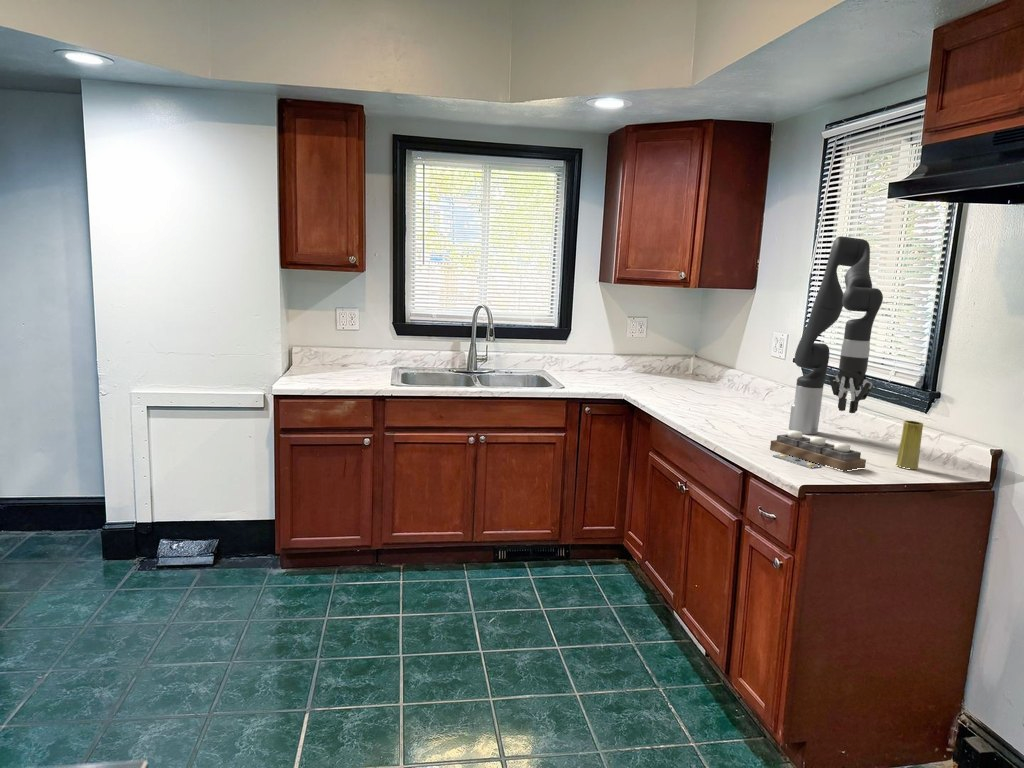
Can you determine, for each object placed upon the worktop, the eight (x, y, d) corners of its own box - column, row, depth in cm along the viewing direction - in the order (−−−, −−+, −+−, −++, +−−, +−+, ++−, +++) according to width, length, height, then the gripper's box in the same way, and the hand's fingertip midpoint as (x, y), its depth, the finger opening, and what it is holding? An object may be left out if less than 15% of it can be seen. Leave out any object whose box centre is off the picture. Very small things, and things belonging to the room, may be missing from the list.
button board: (769, 449, 227) (771, 434, 227) (790, 447, 232) (791, 432, 232) (844, 472, 204) (846, 456, 204) (864, 469, 209) (867, 453, 209)
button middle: (806, 443, 218) (807, 436, 218) (815, 441, 221) (816, 435, 220) (818, 446, 215) (819, 440, 214) (827, 445, 217) (828, 439, 217)
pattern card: (772, 456, 219) (772, 454, 219) (783, 455, 221) (783, 453, 221) (810, 468, 207) (811, 466, 207) (821, 466, 209) (821, 465, 209)
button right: (830, 449, 211) (831, 443, 211) (839, 448, 213) (840, 442, 213) (843, 453, 207) (844, 447, 207) (852, 452, 210) (853, 445, 209)
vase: (910, 464, 218) (917, 420, 215) (922, 470, 211) (929, 425, 209) (891, 464, 217) (898, 419, 215) (903, 469, 211) (909, 424, 209)
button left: (784, 436, 226) (785, 430, 225) (793, 435, 228) (794, 429, 228) (795, 439, 222) (796, 433, 222) (804, 438, 224) (805, 432, 224)
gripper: (884, 358, 201) (876, 415, 204) (841, 351, 213) (834, 406, 216) (869, 358, 198) (860, 417, 201) (825, 352, 210) (818, 407, 212)
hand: (847, 411), depth 208 cm, fingers open, 3 cm apart
